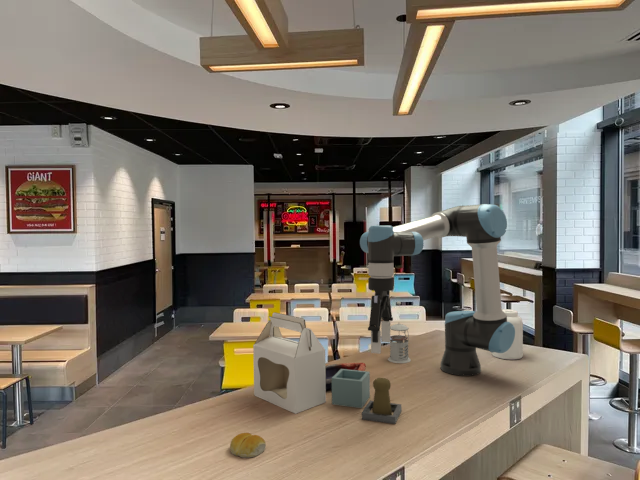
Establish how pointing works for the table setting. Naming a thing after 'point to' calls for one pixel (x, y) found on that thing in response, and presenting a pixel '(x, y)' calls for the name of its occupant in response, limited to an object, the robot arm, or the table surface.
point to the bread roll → (247, 445)
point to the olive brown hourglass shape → (382, 396)
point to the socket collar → (381, 417)
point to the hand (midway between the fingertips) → (381, 347)
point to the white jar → (517, 345)
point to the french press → (399, 345)
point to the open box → (350, 388)
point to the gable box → (289, 365)
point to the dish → (334, 368)
